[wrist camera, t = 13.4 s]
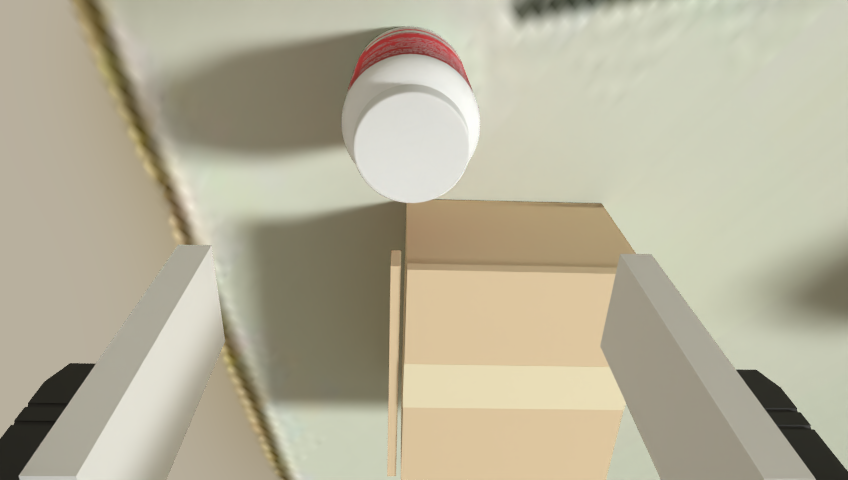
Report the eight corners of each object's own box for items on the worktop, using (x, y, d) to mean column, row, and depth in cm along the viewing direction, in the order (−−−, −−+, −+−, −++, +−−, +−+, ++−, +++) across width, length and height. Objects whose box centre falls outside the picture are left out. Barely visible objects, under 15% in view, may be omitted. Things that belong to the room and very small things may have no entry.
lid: (391, 250, 31) (390, 269, 29) (644, 255, 31) (658, 275, 30) (388, 455, 38) (387, 480, 36) (597, 456, 38) (605, 482, 36)
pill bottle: (336, 46, 33) (307, 101, 23) (445, 7, 32) (463, 47, 22) (377, 150, 36) (367, 239, 26) (478, 117, 35) (506, 195, 25)
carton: (406, 198, 37) (407, 265, 30) (601, 203, 38) (647, 269, 31) (401, 378, 44) (400, 467, 37) (567, 380, 44) (598, 468, 37)
